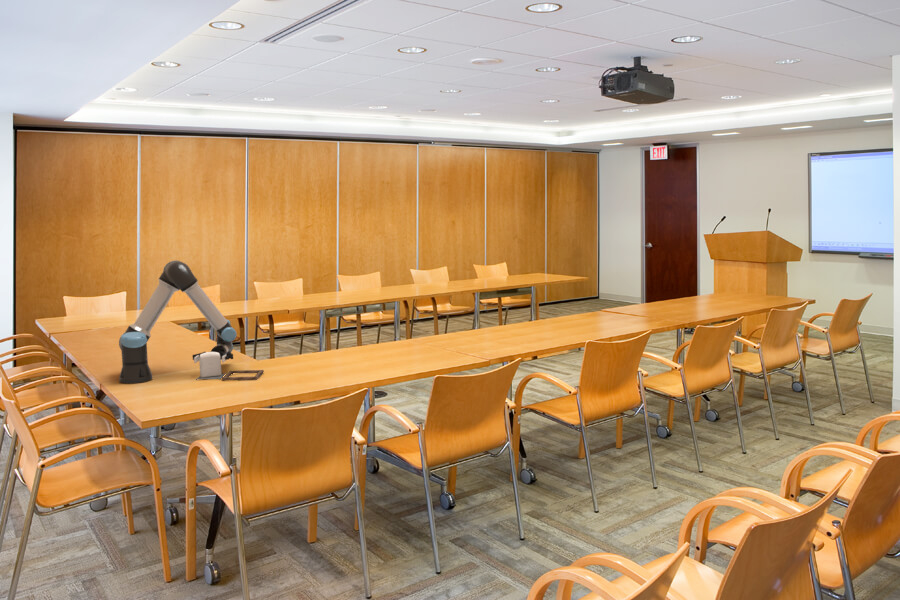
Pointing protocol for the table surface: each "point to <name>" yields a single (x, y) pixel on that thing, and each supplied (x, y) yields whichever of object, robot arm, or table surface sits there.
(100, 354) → the table surface
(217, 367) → the photo printer
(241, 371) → the walnut frame
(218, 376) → the rubber mat
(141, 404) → the table surface
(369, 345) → the table surface
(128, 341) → the robot arm
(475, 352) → the table surface
